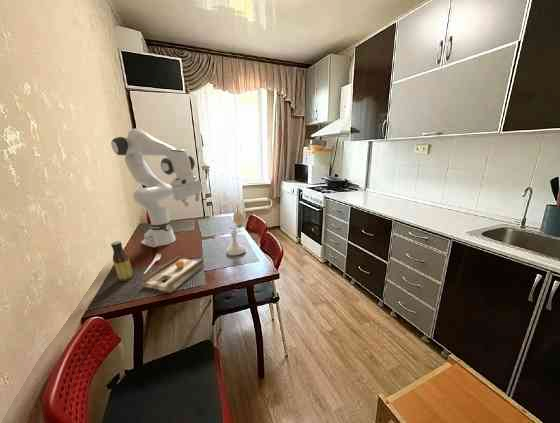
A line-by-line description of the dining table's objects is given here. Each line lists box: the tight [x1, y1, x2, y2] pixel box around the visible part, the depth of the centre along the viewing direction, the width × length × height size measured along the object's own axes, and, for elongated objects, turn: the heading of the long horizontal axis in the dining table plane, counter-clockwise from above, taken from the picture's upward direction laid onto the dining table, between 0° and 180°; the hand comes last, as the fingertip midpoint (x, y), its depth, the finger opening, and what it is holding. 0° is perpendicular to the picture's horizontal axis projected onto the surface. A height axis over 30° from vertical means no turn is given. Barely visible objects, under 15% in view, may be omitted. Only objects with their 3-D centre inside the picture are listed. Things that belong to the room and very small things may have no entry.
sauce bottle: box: [110, 240, 134, 282], centre depth 114 cm, size 7×6×20 cm
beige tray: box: [141, 255, 205, 293], centre depth 117 cm, size 16×24×4 cm, turn 161°
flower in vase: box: [225, 211, 246, 256], centre depth 136 cm, size 13×11×25 cm
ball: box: [176, 260, 184, 268], centre depth 119 cm, size 4×4×4 cm
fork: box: [143, 253, 162, 275], centre depth 130 cm, size 3×20×2 cm, turn 6°
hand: (192, 203), depth 130 cm, fingers open, 8 cm apart
